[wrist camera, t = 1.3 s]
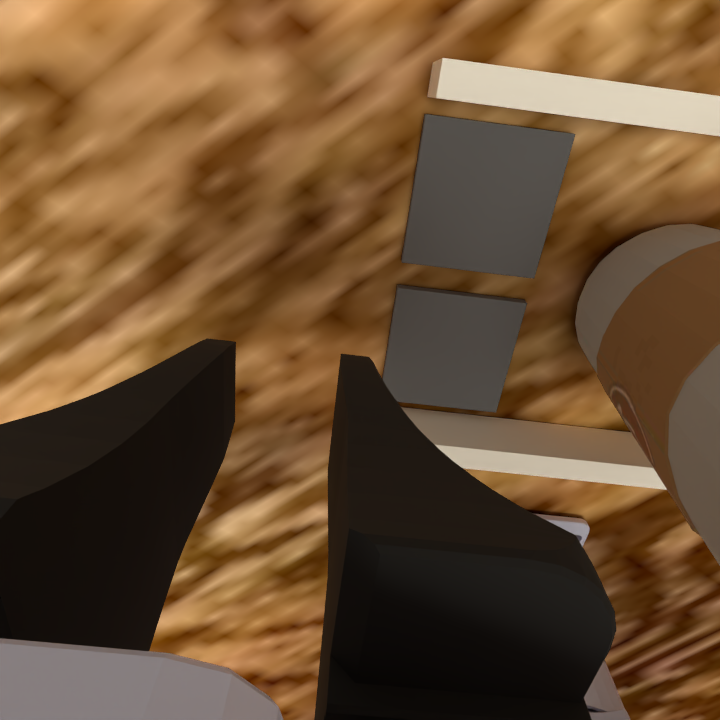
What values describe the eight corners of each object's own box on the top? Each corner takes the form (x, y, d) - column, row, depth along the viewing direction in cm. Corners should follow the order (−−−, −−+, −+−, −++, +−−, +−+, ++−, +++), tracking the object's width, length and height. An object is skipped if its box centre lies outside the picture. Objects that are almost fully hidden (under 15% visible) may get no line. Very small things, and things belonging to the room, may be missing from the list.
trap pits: (493, 407, 23) (495, 412, 22) (379, 394, 22) (380, 399, 22) (571, 133, 18) (575, 134, 17) (424, 113, 17) (425, 114, 17)
